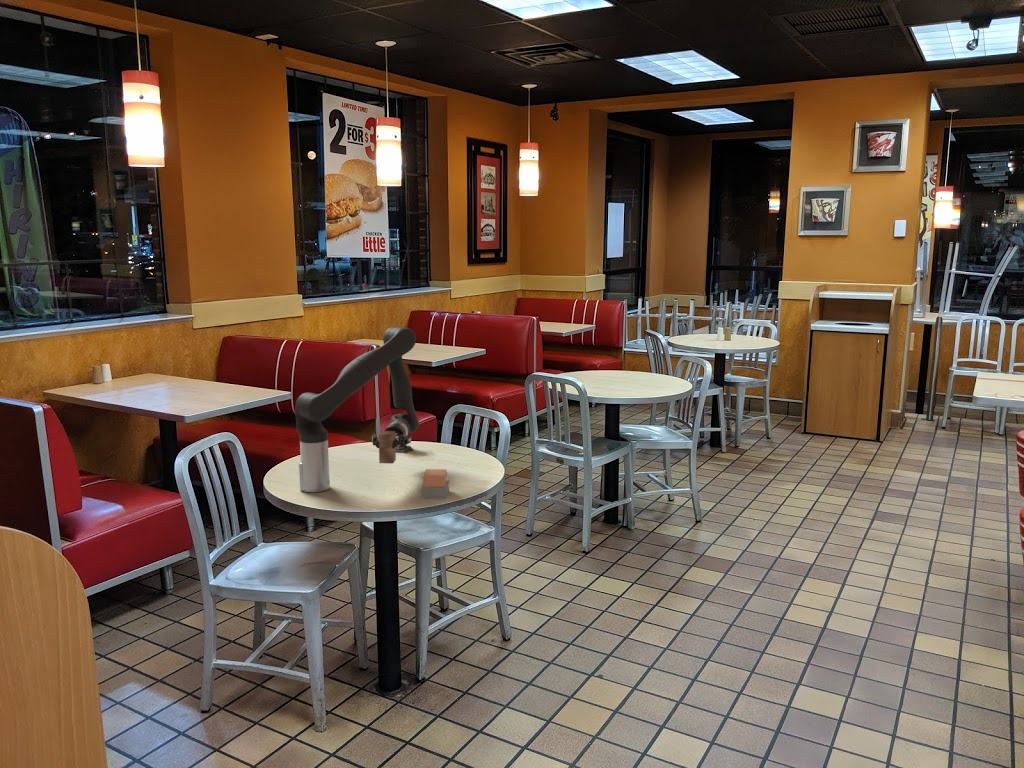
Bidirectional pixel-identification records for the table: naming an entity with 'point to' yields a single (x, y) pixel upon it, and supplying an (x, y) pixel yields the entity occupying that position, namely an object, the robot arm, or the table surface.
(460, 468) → the table surface
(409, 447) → the grey round-topped stand
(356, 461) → the table surface
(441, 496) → the tower base
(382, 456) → the walnut block
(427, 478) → the tower top
